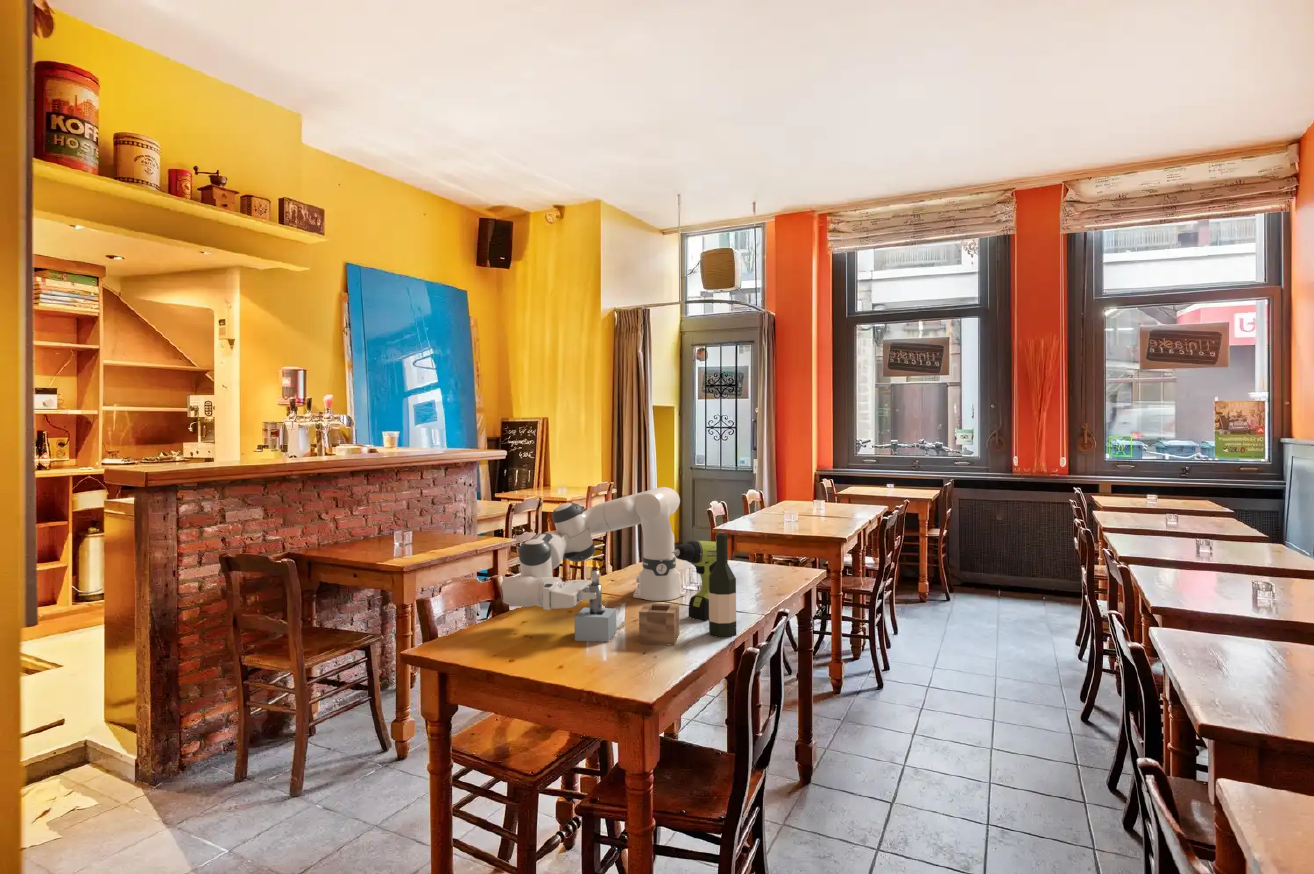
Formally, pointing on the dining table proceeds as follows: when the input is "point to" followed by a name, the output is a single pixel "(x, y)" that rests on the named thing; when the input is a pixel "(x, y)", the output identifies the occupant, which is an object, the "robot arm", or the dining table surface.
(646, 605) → the block
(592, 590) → the stepped metal cylinder
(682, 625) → the dining table surface
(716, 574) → the wine bottle
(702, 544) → the cordless drill
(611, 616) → the socket block
